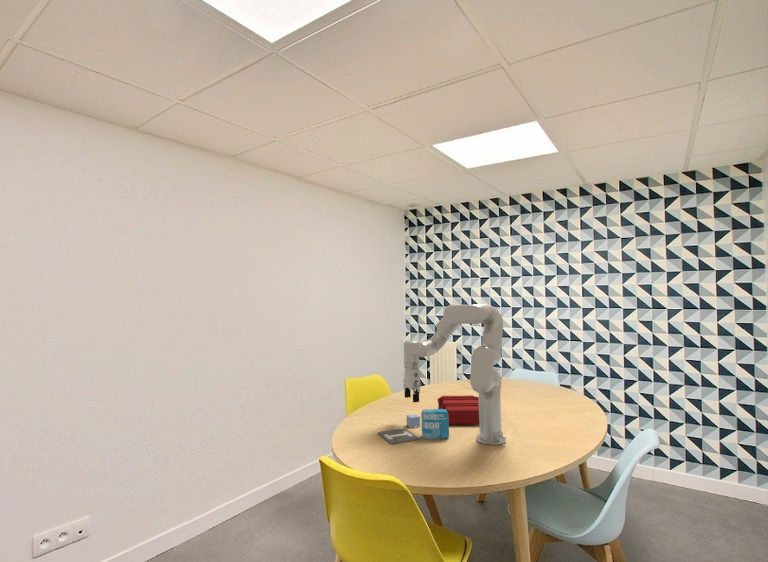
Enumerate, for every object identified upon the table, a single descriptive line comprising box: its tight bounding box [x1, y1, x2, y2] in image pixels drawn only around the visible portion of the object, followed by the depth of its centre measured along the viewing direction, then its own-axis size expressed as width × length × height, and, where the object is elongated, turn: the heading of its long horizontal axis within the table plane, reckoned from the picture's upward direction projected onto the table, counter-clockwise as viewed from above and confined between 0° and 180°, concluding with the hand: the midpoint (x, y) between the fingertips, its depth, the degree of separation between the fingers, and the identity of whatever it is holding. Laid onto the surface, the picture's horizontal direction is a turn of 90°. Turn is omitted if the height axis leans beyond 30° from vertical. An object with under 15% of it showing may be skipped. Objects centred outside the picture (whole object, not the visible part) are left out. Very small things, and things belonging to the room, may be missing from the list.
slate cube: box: [406, 413, 421, 428], centre depth 196 cm, size 5×5×5 cm
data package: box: [420, 408, 450, 440], centre depth 179 cm, size 12×4×12 cm, turn 89°
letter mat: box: [377, 427, 420, 445], centre depth 181 cm, size 16×14×1 cm
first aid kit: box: [437, 395, 479, 426], centre depth 210 cm, size 32×23×9 cm
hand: (411, 399), depth 197 cm, fingers open, 9 cm apart
